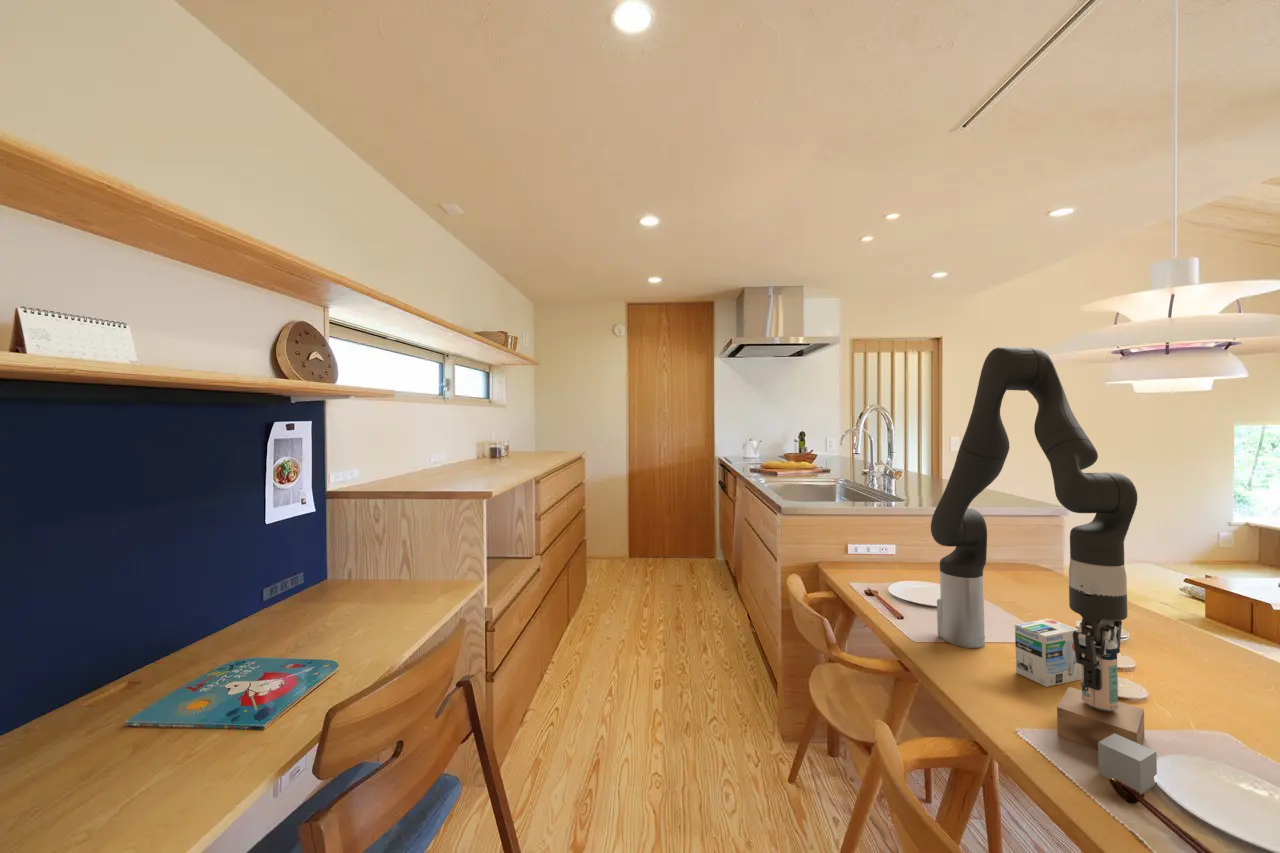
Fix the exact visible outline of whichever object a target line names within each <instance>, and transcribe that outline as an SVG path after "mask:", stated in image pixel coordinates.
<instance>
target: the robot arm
mask: <svg viewBox="0 0 1280 853" xmlns="http://www.w3.org/2000/svg"><path fill="white" fill-rule="evenodd" d="M1006 391H1021V392H1022V391H1023V392H1024V391H1028V393H1030V394H1031V395H1032V397H1033V398H1034V399H1035V400H1036V403H1037V405H1038V407H1037V408H1038V409H1037V412H1036V416H1035V420H1034V427H1033V428H1034V429H1033V431H1034V436H1035V438H1036V441H1037V443H1038V445H1039V447H1040V448H1041V451H1042V452H1043V453H1044V455H1045V457H1046V459H1047V460H1048V462H1049V465H1050V470H1051V474H1052V479H1053V486H1054V493H1055V496H1056V499H1057V501H1058V503H1059V504H1060V505H1061V506H1062V507H1064V508H1065V509H1066V510H1068V511H1070V512H1072V513H1076V514H1095V516H1094V517H1093V519H1092V520H1091V521H1090V522H1088V523H1084V524H1081V525H1076V526H1074V527H1072V528H1071V530H1070V532H1069V554H1070V557H1069V560H1070V561H1069V564H1068V565H1069V566H1068V599H1069V600H1068V601H1069V602H1068V604H1069V605H1068V606H1069V609H1070V610H1072V611H1073V612H1074V613H1077V614H1078V615H1080V617H1082V618H1081V622H1080V623H1079V625H1078V629H1079V632H1076V631H1074V632H1073V641H1074V648H1075V655H1076V662H1077V663H1078V664H1082V665H1083V667H1084V685H1085V686H1086V687H1089V688H1092V689H1095V690H1100V689H1101V688H1102V671H1101V668H1102V658H1103V656H1106V655H1107V648H1108V640H1110V639H1113V640H1114V642H1115V644H1116V645H1117V655H1119V653H1120V652H1121V650H1120V648H1121V638H1122V637H1121V636H1122V625H1123V620H1126V619H1127V618H1128V578H1127V577H1128V576H1127V572H1126V567H1125V539H1126V536H1127V533H1128V531H1129V529H1130V528H1129V527H1130V525H1131V522H1132V521H1133V520H1132V519H1133V517H1134V514H1135V511H1136V508H1137V504H1138V492H1137V489H1136V485H1134V483H1133V481H1132V480H1131V479H1130V478H1129V477H1127V476H1126V475H1124V474H1122V473H1118V472H1083V470H1085V469H1087V468H1090V467H1092V466H1093V465H1094V464H1095V463H1096V462H1097V461H1098V458H1099V454H1098V451H1097V449H1096V447H1095V446H1094V444H1093V442H1092V441H1091V440H1090V438H1089V437H1088V435H1087V433H1085V431H1084V429H1083V428H1082V426H1081V424H1080V423H1079V422H1078V420H1077V418H1076V416H1075V415H1074V413H1073V411H1072V409H1071V406H1070V404H1069V400H1068V398H1067V396H1066V393H1065V390H1064V387H1063V385H1062V382H1061V380H1060V377H1059V375H1058V371H1057V369H1056V367H1055V364H1054V362H1053V361H1052V359H1051V357H1050V355H1049V354H1048V353H1047V352H1046V351H1045V350H1043V349H1040V348H1034V347H1023V346H1022V347H1017V346H999V347H995V348H993V349H992V350H991V351H990V352H988V354H987V356H986V358H985V359H984V362H983V365H982V368H981V371H980V375H979V380H978V384H977V389H976V394H975V397H974V403H973V406H972V411H971V414H970V417H969V420H968V424H967V426H966V429H965V432H964V435H963V436H962V439H961V443H960V444H959V449H958V451H957V455H956V458H955V461H954V464H953V468H952V471H951V474H950V476H949V479H948V482H947V484H946V487H945V489H944V491H943V494H942V495H941V498H940V499H939V502H938V503H937V506H936V507H935V510H934V511H933V515H932V518H931V520H930V521H931V522H930V531H931V532H930V533H931V536H932V539H933V540H934V542H935V543H937V544H938V545H940V546H943V547H955V548H954V550H953V551H952V552H950V553H949V554H947V555H945V556H944V557H942V558H940V560H939V582H940V583H939V584H940V586H939V587H940V589H939V590H940V598H938V599H937V600H936V617H937V618H936V620H937V622H936V623H937V626H936V627H937V637H938V636H940V637H939V638H941V637H942V638H943V639H942V638H941V639H942V640H943V641H945V640H946V641H947V643H948V642H949V643H948V644H951V645H953V646H958V647H961V648H966V649H967V648H968V649H977V648H979V649H980V648H983V647H984V646H985V645H986V635H985V632H986V631H985V600H984V598H985V596H984V594H985V593H984V568H985V566H986V564H987V551H988V550H987V548H988V528H987V523H986V519H985V518H984V516H983V515H982V514H981V512H980V511H979V510H976V509H973V508H969V506H970V505H971V503H972V501H974V499H976V497H977V496H979V494H981V493H982V492H983V491H984V490H985V489H986V488H987V487H989V486H990V485H991V484H992V483H993V482H994V481H995V480H996V479H997V477H998V476H999V475H1000V474H1001V472H1002V470H1003V469H1004V468H1003V467H1004V465H1005V462H1006V460H1007V457H1008V455H1009V451H1010V440H1009V436H1008V433H1007V430H1006V428H1005V426H1004V423H1003V421H1002V420H1003V419H1002V418H1001V417H1002V416H1001V407H1002V403H1003V400H1004V396H1005V393H1006ZM946 641H945V642H946ZM1095 646H1101V649H1099V650H1097V649H1095ZM1088 656H1089V657H1090V659H1088V658H1087V657H1088Z"/></svg>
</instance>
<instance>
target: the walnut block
mask: <svg viewBox="0 0 1280 853" xmlns="http://www.w3.org/2000/svg"><path fill="white" fill-rule="evenodd" d="M1056 715H1057V716H1056V717H1057V718H1056V720H1057V721H1056V722H1057V725H1056V726H1057V736H1058V737H1061V738H1064V739H1067V740H1069V741H1072V742H1076V743H1078V744H1081V745H1082V746H1083V745H1084V746H1087V747H1089V748H1092V749H1094V750H1097V751H1098V742H1099V741H1101V740H1103V739H1105V738H1107V737H1109V736H1110V735H1112V734H1114V733H1115V734H1117V735H1119V736H1122V737H1124V738H1126V739H1129V740H1131V741H1133V742H1136V743H1138V744H1140V745H1143V744H1144V742H1145V710H1144V708H1142V707H1139V706H1136V705H1132V704H1128V703H1125V702H1121V701H1119V700H1118V709H1117V710H1112V711H1103V710H1099V709H1096V708H1094V707H1092V706H1090V705H1088V704H1087V703H1086V702H1084V701H1083V700H1082V689H1078V688H1075V687H1071V686H1068V688H1067V689H1066V691H1065V693H1064V694H1063V696H1062V697H1061V700H1060V701H1059V703H1058V705H1057V706H1056ZM1143 746H1144V745H1143Z"/></svg>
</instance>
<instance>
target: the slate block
mask: <svg viewBox="0 0 1280 853" xmlns="http://www.w3.org/2000/svg"><path fill="white" fill-rule="evenodd" d="M1097 753H1098V754H1097V755H1098V756H1097V758H1098V759H1097V760H1098V774H1099V775H1101V776H1103V777H1105V778H1107V779H1109V780H1111V779H1112V778H1114V779H1117V780H1119V781H1121V782H1122V783H1123V784H1126V785H1128V786H1130V787H1131V788H1133V789H1135V790H1136V791H1138V792H1139V793H1140V794H1139V793H1138V794H1139V795H1142V794H1145V793H1146V792H1147V791H1148V790H1150V789H1151V788H1153V787H1155V786H1156V785H1155V783H1154V776H1155V775H1156V774H1157V775H1158V769H1157V768H1158V767H1157V766H1158V765H1157V760H1158V758H1157V757H1158V756H1157V751H1156V750H1154V749H1151V748H1149V747H1147V746H1144V745H1140V744H1138V743H1136V742H1133V741H1131V740H1129V739H1126V738H1124V737H1122V736H1119V735H1117V734H1115V733H1114V734H1112V735H1110V736H1109V737H1107V738H1105V739H1103V740H1101V741H1099V742H1098V750H1097Z"/></svg>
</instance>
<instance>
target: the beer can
mask: <svg viewBox="0 0 1280 853" xmlns="http://www.w3.org/2000/svg"><path fill="white" fill-rule="evenodd" d="M1095 649H1097V650H1099V649H1101V646H1095ZM1087 658H1088V659H1090V657H1089V656H1088V657H1087ZM1101 671H1102V688H1101V689H1100V690H1095V689H1092V688H1089V687H1086V686H1085V685H1084V667H1083V665H1082V664H1081V690H1082V700H1083V701H1084V702H1086V703H1087V704H1088V705H1090V706H1092V707H1094V708H1096V709H1099V710H1103V711H1112V710H1117V709H1118V701H1119V690H1118V689H1119V687H1118V685H1119V683H1118V682H1119V680H1118V654H1117V645H1116V644H1115V642H1114V640H1113V639H1110V640H1108V648H1107V655H1106V656H1103V658H1102V668H1101Z"/></svg>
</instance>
